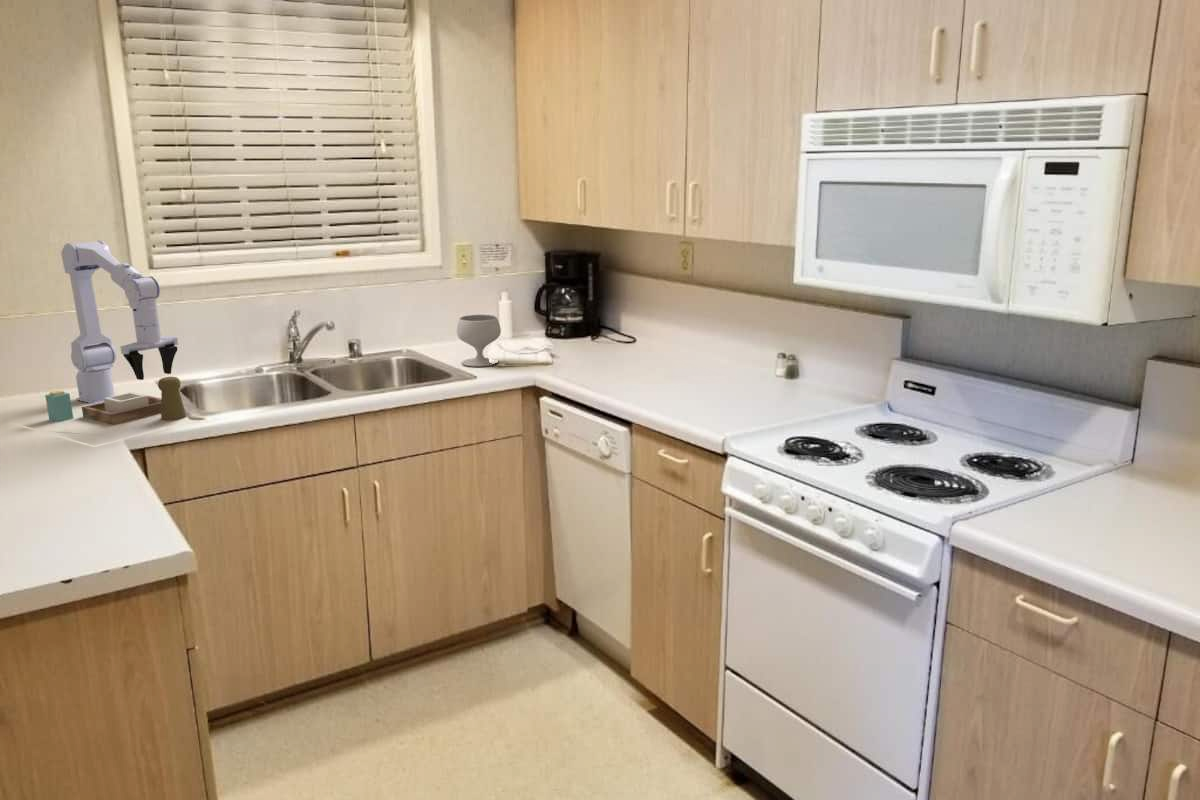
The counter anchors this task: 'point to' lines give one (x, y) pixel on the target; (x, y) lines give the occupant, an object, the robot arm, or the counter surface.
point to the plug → (59, 406)
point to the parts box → (122, 412)
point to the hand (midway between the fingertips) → (154, 376)
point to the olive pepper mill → (171, 399)
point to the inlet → (125, 402)
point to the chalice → (478, 335)
